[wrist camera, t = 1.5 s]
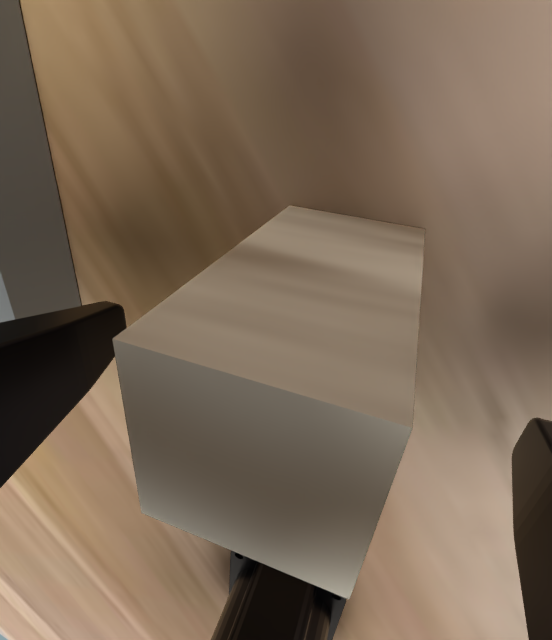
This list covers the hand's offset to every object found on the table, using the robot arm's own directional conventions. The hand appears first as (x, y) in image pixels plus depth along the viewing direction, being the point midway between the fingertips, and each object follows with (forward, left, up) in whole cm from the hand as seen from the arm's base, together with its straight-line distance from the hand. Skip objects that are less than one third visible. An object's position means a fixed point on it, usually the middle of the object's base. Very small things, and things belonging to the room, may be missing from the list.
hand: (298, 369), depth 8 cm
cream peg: (0, 0, -5) cm, 5 cm away
